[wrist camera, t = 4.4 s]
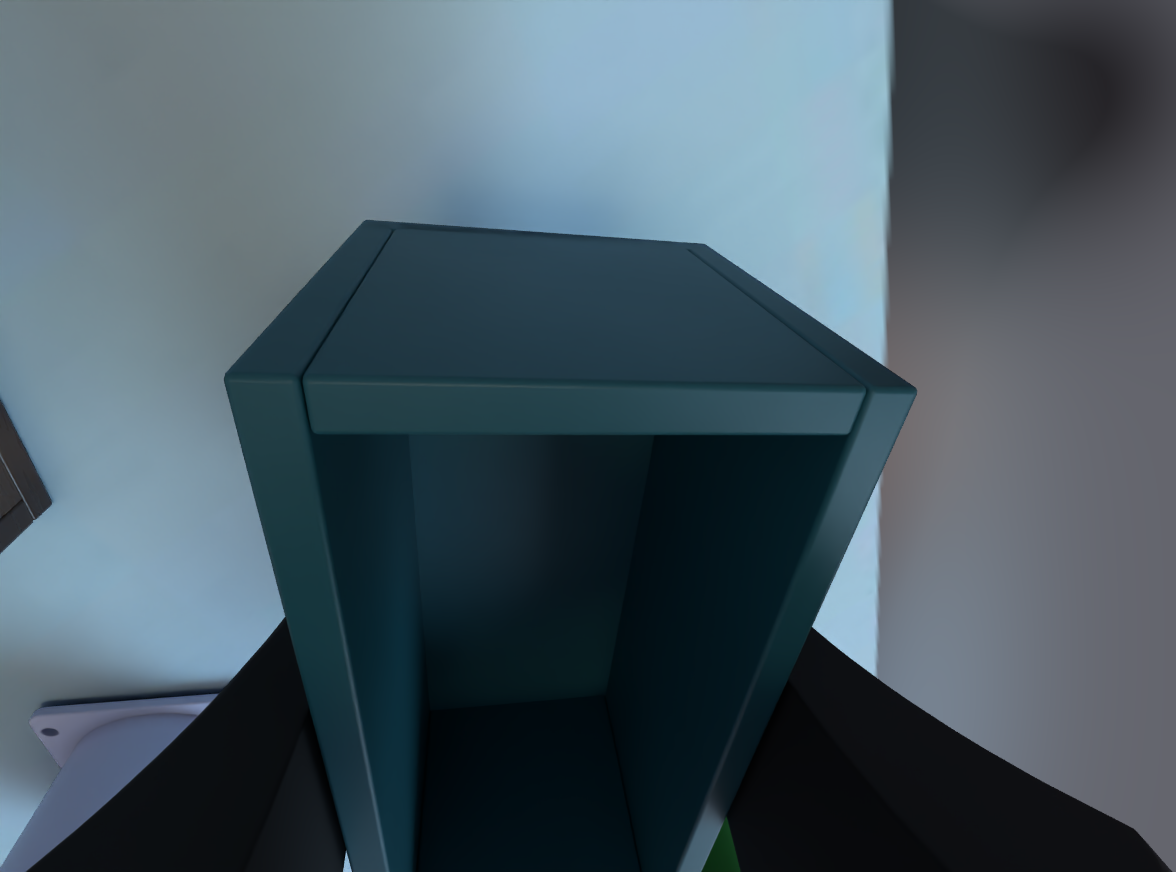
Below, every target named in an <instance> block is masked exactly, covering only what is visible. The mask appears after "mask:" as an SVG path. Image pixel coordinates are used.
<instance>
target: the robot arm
mask: <svg viewBox="0 0 1176 872" xmlns="http://www.w3.org/2000/svg"><path fill="white" fill-rule="evenodd" d="M29 724H30V726H31V728H32V729H33V730H34V732H35V733H36V734H37V736H38V737H39V739H40V740H41V741H42V743H43V744H44V746H45V747H46V748H47V750H48V751H49V753H50V754H51V755H52V757H53V758H54V759H55V761H56V762H57V764H58V765H59V766H60V768H61V771H60V772H59V774H58V775H57V777H56V779H55V780H54V782H53V784H52V785H51V787H50V788H49V790H48V792H47V793H46V795H45V796H44V798H43V800H42V801H41V803H40V804H39V806H38V808H37V809H36V811H35V813H34V814H33V816H32V817H31V819H30V821H29V822H28V824H27V825H26V827H25V829H24V830H23V832H22V833H21V835H20V837H19V838H18V840H17V842H16V843H15V845H14V846H13V848H12V850H11V851H10V853H9V854H8V856H7V858H6V859H5V861H4V862H3V864H2V866H1V867H0V872H343V868H344V861H345V854H346V847H345V843H344V839H343V835H342V832H341V828H340V824H339V820H338V816H337V812H336V809H335V805H334V801H333V797H332V793H331V789H330V786H329V782H328V778H327V774H326V770H325V766H324V763H323V759H322V755H321V751H320V747H319V743H318V740H317V736H316V732H315V728H314V724H313V720H312V716H311V713H310V709H309V705H308V701H307V697H306V693H305V690H304V686H303V682H302V678H301V674H300V670H299V667H298V663H297V659H296V655H295V651H294V647H293V644H292V640H291V636H290V632H289V628H288V624H287V621H286V617H285V618H284V619H283V620H282V622H281V623H280V624H279V625H278V627H277V628H276V629H275V630H274V632H273V633H272V634H271V635H270V637H269V638H268V639H267V640H266V641H265V642H264V644H263V645H262V646H261V647H260V648H259V649H258V650H257V652H256V653H255V654H254V655H253V656H252V657H251V658H250V660H249V661H248V662H247V663H246V664H245V665H244V666H243V668H242V669H241V670H240V671H239V672H238V673H237V674H236V676H235V677H234V678H233V679H232V680H231V681H230V682H229V683H228V685H227V686H226V687H225V688H224V689H223V690H222V691H221V692H220V693H218V694H205V695H193V696H180V697H167V698H154V699H141V700H128V701H116V702H103V703H90V704H77V705H64V706H51V707H43V708H39V709H38V710H36V711H35V712H34V714H33V715H32V716H31V718H30V719H29ZM726 817H727V820H728V824H729V828H730V832H731V835H732V839H733V843H734V847H735V851H736V855H737V859H738V863H739V867H740V871H741V872H1172V871H1171V870H1170V869H1169V868H1168V866H1167V865H1166V864H1165V863H1164V862H1163V861H1162V860H1161V859H1160V857H1159V856H1158V855H1157V854H1156V853H1155V852H1154V851H1153V849H1152V848H1151V847H1150V846H1149V845H1148V844H1147V843H1146V841H1145V840H1144V839H1143V838H1142V837H1141V836H1140V835H1139V834H1138V833H1137V832H1136V831H1135V830H1134V829H1133V828H1131V827H1129V826H1127V825H1125V824H1123V823H1122V822H1120V821H1118V820H1116V819H1114V818H1112V817H1110V816H1108V815H1106V814H1104V813H1102V812H1100V811H1098V810H1096V809H1094V808H1092V807H1090V806H1088V805H1086V804H1085V803H1083V802H1081V801H1079V800H1077V799H1075V798H1073V797H1071V796H1069V795H1067V794H1065V793H1063V792H1061V791H1059V790H1058V789H1056V788H1054V787H1051V786H1050V785H1048V784H1046V783H1044V782H1042V781H1040V780H1039V779H1037V778H1035V777H1033V776H1031V775H1030V774H1028V773H1026V772H1024V771H1023V770H1021V769H1019V768H1017V767H1016V766H1014V765H1012V764H1010V763H1009V762H1007V761H1005V760H1003V759H1002V758H1000V757H998V756H996V755H995V754H993V753H991V752H989V751H988V750H986V749H984V748H982V747H981V746H979V745H978V744H976V743H974V742H972V741H971V740H969V739H968V738H966V737H964V736H963V735H961V734H960V733H958V732H956V731H955V730H953V729H951V728H950V727H948V726H947V725H945V724H944V723H942V722H940V721H939V720H937V719H936V718H935V717H933V716H931V715H930V714H928V713H927V712H925V711H924V710H922V709H921V708H919V707H918V706H916V705H914V704H913V703H912V702H910V701H909V700H907V699H906V698H904V697H903V696H901V695H900V694H898V693H897V692H895V691H894V690H893V689H891V688H890V687H888V686H887V685H886V684H884V683H883V682H881V681H880V680H879V679H877V678H876V677H875V676H873V675H872V674H871V673H869V672H868V671H867V670H865V669H864V668H863V667H861V666H860V665H859V664H857V663H856V662H855V661H853V660H852V659H851V658H849V657H848V656H847V655H845V654H844V653H843V652H842V651H840V650H839V649H838V648H837V647H835V646H834V645H833V644H832V643H830V642H829V641H828V640H827V639H826V638H824V637H823V636H822V635H821V634H820V633H818V632H817V631H816V630H815V629H814V628H813V627H811V630H810V632H809V634H808V636H807V639H806V641H805V643H804V645H803V647H802V650H801V652H800V654H799V656H798V658H797V661H796V663H795V665H794V667H793V670H792V672H791V674H790V676H789V678H788V681H787V683H786V685H785V687H784V689H783V692H782V694H781V696H780V698H779V701H778V703H777V705H776V707H775V709H774V712H773V714H772V716H771V718H770V721H769V723H768V725H767V727H766V729H765V732H764V734H763V736H762V738H761V740H760V743H759V745H758V747H757V749H756V752H755V754H754V756H753V758H752V760H751V763H750V765H749V767H748V769H747V771H746V774H745V776H744V778H743V780H742V783H741V785H740V787H739V789H738V791H737V794H736V796H735V798H734V800H733V802H732V805H731V807H730V809H729V811H728V814H727V816H726Z"/></svg>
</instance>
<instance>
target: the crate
mask: <svg viewBox="0 0 1176 872" xmlns="http://www.w3.org/2000/svg"><path fill="white" fill-rule="evenodd" d="M51 505H52V501H51V499H50V497H49V495H48V493H47V491H46V489H45V487H44V485H43V483H42V481H41V479H40V478H39V476H38V474H37V472H36V470H35V468H34V466H33V464H32V462H31V460H30V458H29V456H28V454H27V452H26V450H25V448H24V446H23V444H22V442H21V440H20V438H19V436H18V434H17V432H16V430H15V428H14V426H13V424H12V422H11V420H10V418H9V416H8V414H7V412H6V410H5V408H4V406H3V404H2V402H1V400H0V554H1V553H2V552H3V551H4V550H5V549H6V548H7V547H8V546H9V545H10V544H11V543H12V542H13V541H14V540H15V539H16V538H17V537H18V536H19V535H20V534H21V533H22V532H23V531H24V530H26V529H27V528H28V527H29V526H30V525H31V524H32V523H33V520H35V519H37V518H38V517H39V516H40V515H41V514H42V513H43V512H44V511H46V510H47V509H48V508H49V507H50V506H51Z"/></svg>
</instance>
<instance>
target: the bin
mask: <svg viewBox="0 0 1176 872" xmlns="http://www.w3.org/2000/svg"><path fill="white" fill-rule="evenodd" d="M224 382H225V386H226V390H227V394H228V398H229V402H230V406H231V409H232V413H233V417H234V421H235V425H236V429H237V432H238V436H239V440H240V444H241V448H242V452H243V455H244V459H245V463H246V467H247V471H248V475H249V478H250V482H251V486H252V490H253V494H254V498H255V501H256V505H257V509H258V513H259V517H260V521H261V525H262V528H263V532H264V536H265V540H266V544H267V548H268V551H269V555H270V559H271V563H272V567H273V571H274V574H275V578H276V582H277V586H278V590H279V594H280V597H281V601H282V605H283V609H284V613H285V617H286V621H287V624H288V628H289V632H290V636H291V640H292V644H293V647H294V651H295V655H296V659H297V663H298V667H299V670H300V674H301V678H302V682H303V686H304V690H305V693H306V697H307V701H308V705H309V709H310V713H311V716H312V720H313V724H314V728H315V732H316V736H317V740H318V743H319V747H320V751H321V755H322V759H323V763H324V766H325V770H326V774H327V778H328V782H329V786H330V789H331V793H332V797H333V801H334V805H335V809H336V812H337V816H338V820H339V824H340V828H341V832H342V835H343V839H344V843H345V847H346V851H347V855H348V859H349V862H350V866H351V870H352V872H701V871H702V869H703V867H704V865H705V862H706V860H707V858H708V856H709V853H710V851H711V849H712V847H713V845H714V842H715V840H716V838H717V836H718V833H719V831H720V829H721V827H722V825H723V822H724V820H725V818H726V816H727V814H728V811H729V809H730V807H731V805H732V802H733V800H734V798H735V796H736V794H737V791H738V789H739V787H740V785H741V783H742V780H743V778H744V776H745V774H746V771H747V769H748V767H749V765H750V763H751V760H752V758H753V756H754V754H755V752H756V749H757V747H758V745H759V743H760V740H761V738H762V736H763V734H764V732H765V729H766V727H767V725H768V723H769V721H770V718H771V716H772V714H773V712H774V709H775V707H776V705H777V703H778V701H779V698H780V696H781V694H782V692H783V689H784V687H785V685H786V683H787V681H788V678H789V676H790V674H791V672H792V670H793V667H794V665H795V663H796V661H797V658H798V656H799V654H800V652H801V650H802V647H803V645H804V643H805V641H806V639H807V636H808V634H809V632H810V630H811V627H812V625H813V623H814V621H815V619H816V616H817V614H818V612H819V610H820V608H821V605H822V603H823V601H824V599H825V596H826V594H827V592H828V590H829V588H830V585H831V583H832V581H833V579H834V577H835V574H836V572H837V570H838V568H839V565H840V563H841V561H842V559H843V557H844V554H845V552H846V550H847V548H848V545H849V543H850V541H851V539H852V537H853V534H854V532H855V530H856V528H857V526H858V523H859V521H860V519H861V517H862V514H863V512H864V510H865V508H866V506H867V503H868V501H869V499H870V497H871V495H872V492H873V490H874V488H875V486H876V483H877V481H878V479H879V477H880V475H881V472H882V470H883V468H884V466H885V464H886V461H887V459H888V457H889V455H890V452H891V450H892V448H893V446H894V444H895V441H896V439H897V437H898V435H899V432H900V430H901V428H902V426H903V424H904V421H905V419H906V417H907V415H908V413H909V410H910V408H911V406H912V404H913V401H914V399H915V397H916V395H917V389H916V388H915V387H914V386H912V385H911V384H910V383H908V382H906V381H905V380H903V379H902V378H901V377H899V376H898V375H896V374H895V373H893V372H892V371H890V370H889V369H888V368H886V367H885V366H883V365H882V364H880V363H879V362H877V361H876V360H874V359H873V358H871V357H870V356H868V355H867V354H865V353H864V352H863V351H861V350H860V349H858V348H857V347H855V346H854V345H852V344H851V343H849V342H848V341H846V340H845V339H843V338H842V337H841V336H839V335H838V334H836V333H835V332H833V331H832V330H830V329H829V328H827V327H826V326H824V325H823V324H821V323H820V322H819V321H817V320H816V319H814V318H813V317H811V316H810V315H808V314H807V313H805V312H804V311H802V310H801V309H799V308H798V307H796V306H795V305H794V304H792V303H791V302H789V301H788V300H786V299H785V298H783V297H782V296H780V295H779V294H777V293H776V292H774V291H773V290H772V289H770V288H769V287H767V286H766V285H764V284H763V283H761V282H760V281H758V280H757V279H755V278H754V277H752V276H751V275H749V274H748V273H747V272H745V271H744V270H742V269H741V268H739V267H738V266H736V265H735V264H733V263H732V262H730V261H729V260H727V259H726V258H725V257H723V256H722V255H720V254H719V253H717V252H716V251H714V250H713V249H711V248H710V247H708V246H707V245H705V244H699V243H685V242H671V241H657V240H643V239H628V238H614V237H600V236H586V235H572V234H558V233H544V232H530V231H516V230H502V229H488V228H474V227H460V226H446V225H432V224H417V223H403V222H389V221H375V220H365V221H363V223H362V224H361V225H360V226H359V227H358V228H357V229H356V230H355V231H354V232H353V234H352V235H351V236H350V237H349V238H348V239H347V240H346V241H345V242H344V243H343V245H342V246H341V247H340V248H339V249H338V250H337V251H336V252H335V253H334V254H333V256H332V257H331V258H330V259H329V260H328V261H327V262H326V263H325V264H324V265H323V267H322V268H321V269H320V270H319V271H318V272H317V273H316V274H315V275H314V276H313V278H312V279H311V280H310V281H309V282H308V283H307V284H306V285H305V286H304V287H303V289H302V290H301V291H300V292H299V293H298V294H297V295H296V296H295V297H294V298H293V300H292V301H291V302H290V303H289V304H288V305H287V306H286V307H285V308H284V309H283V311H282V312H281V313H280V314H279V315H278V316H277V317H276V318H275V319H274V320H273V322H272V323H271V324H270V325H269V326H268V327H267V328H266V329H265V330H264V331H263V333H262V334H261V335H260V336H259V337H258V338H257V339H256V340H255V341H254V342H253V344H252V345H251V346H250V347H249V348H248V349H247V350H246V351H245V352H244V353H243V355H242V356H241V357H240V358H239V359H238V360H237V361H236V362H235V363H234V364H233V366H232V367H231V368H230V369H229V370H228V371H227V372H226V373H225V377H224Z"/></svg>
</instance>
